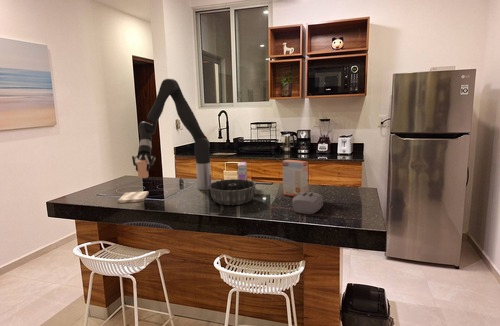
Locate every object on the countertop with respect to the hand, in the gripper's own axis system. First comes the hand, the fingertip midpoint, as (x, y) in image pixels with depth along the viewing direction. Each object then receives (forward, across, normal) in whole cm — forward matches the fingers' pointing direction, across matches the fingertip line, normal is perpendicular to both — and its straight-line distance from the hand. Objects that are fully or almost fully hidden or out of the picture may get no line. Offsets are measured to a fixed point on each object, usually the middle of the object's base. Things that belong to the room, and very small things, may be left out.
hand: (142, 170), depth 188 cm
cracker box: (+21, +89, 0) cm, 92 cm away
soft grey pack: (+38, +89, -17) cm, 99 cm away
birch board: (+11, -6, +13) cm, 18 cm away
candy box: (+3, +61, +19) cm, 64 cm away
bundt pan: (+24, +52, -2) cm, 57 cm away
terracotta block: (+2, 0, +4) cm, 5 cm away
